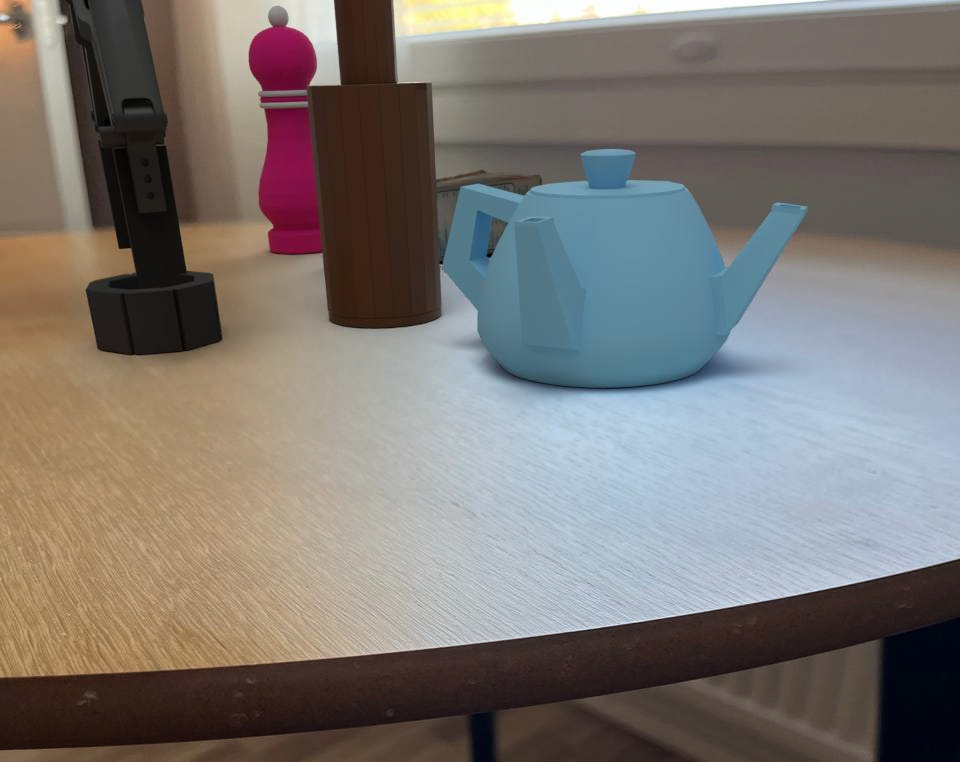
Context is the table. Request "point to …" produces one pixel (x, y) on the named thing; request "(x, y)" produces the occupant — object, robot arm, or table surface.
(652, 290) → the teapot
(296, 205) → the pepper mill
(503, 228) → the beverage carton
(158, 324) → the black octagonal ring
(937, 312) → the table surface
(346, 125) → the bottle
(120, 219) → the robot arm
